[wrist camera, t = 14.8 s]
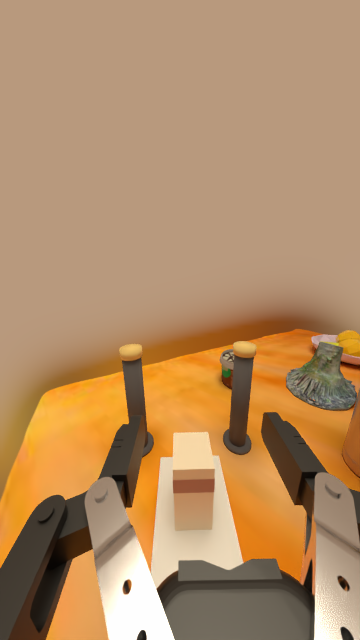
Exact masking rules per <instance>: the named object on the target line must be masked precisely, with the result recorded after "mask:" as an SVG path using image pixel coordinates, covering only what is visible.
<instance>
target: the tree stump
mask: <svg viewBox="0 0 360 640" xmlns="http://www.w3.org/2000/svg"><path fill="white" fill-rule="evenodd" d="M342 353H343V347H340V346H336V345H333V344H329V343H325V342H319V345H318V347H317V349H316V352H315V354H314V356H313V357H312V359H311V361H309V362H308V363H306V364H305V365H303V367H301V368H296V369H292V370H291V373H290V372H288V374H287V377H286V382H287V383H286V387H287V388H288V389H289V390H290V391H291V393H292V394H293V395H294V396H295V397H297V398H299V399H301V400H303V401H304V402H306V403H308V404H310V405H313V406H315V407H318V408H321V409H325V410H333V411H337V410H348V409H349V408H351V407H352V406H353V405H354V403H355V402H356V400H357V398H356V397H357V393H356V391H355V388H354V387H355V386H354V385H352V384H351V382H352V381H349V380H346V379H345V378H344V377H343V374H342V373H341V371H340V363H341V357H342ZM310 398H311V399H310ZM313 399H314V400H315V401H314V400H313Z"/></svg>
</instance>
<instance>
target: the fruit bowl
mask: <svg viewBox="0 0 360 640" xmlns="http://www.w3.org/2000/svg"><path fill="white" fill-rule="evenodd" d="M319 342H325V343H329V344H333V345H336V346H340V347H343V353H342V357H341V361H343V362H346V363H350V364H353V365H360V335H359V334H358V333H357V332H355V331H351V330H347V331H344V332H341V333H340V334H339V335H338V336H336V335H319V336H313V337H312V343H313V345H314V347H315V348H316V349H317V347H318V345H319Z"/></svg>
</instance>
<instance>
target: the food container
mask: <svg viewBox="0 0 360 640" xmlns="http://www.w3.org/2000/svg"><path fill="white" fill-rule="evenodd" d="M220 362H221V364H222V381H223V384H224V385H225V386H227V387H228V388H230V389H232V382H233V366H234V353H233V349H230V350H226V351H224V352H223V353H222V354H221V357H220Z"/></svg>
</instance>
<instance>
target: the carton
mask: <svg viewBox="0 0 360 640" xmlns="http://www.w3.org/2000/svg"><path fill="white" fill-rule="evenodd" d="M214 488H215V467H214V462H213V456H212V451H211V446H210V441H209V435H208V432H191V433H174V438H173V493H174V515H175V531H182V530H212V525H213V501H214Z"/></svg>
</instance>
